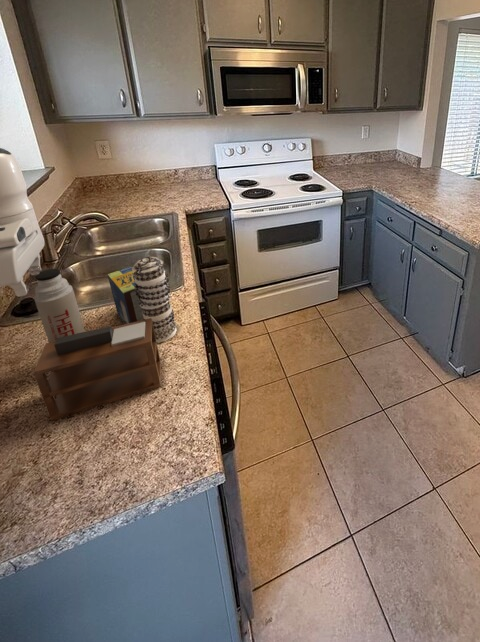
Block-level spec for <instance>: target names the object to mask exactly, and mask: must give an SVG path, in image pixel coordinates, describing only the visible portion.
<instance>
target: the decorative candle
mask: <svg viewBox="0 0 480 642" xmlns="http://www.w3.org/2000/svg"><path fill="white" fill-rule="evenodd" d="M132 266H133V267H132V270H133V271H134V274H135V282H136V284H135V286H134V287H135V291H136V295H138V296H137V297H138V301H139V302H140V303H139V305H140V307H141V308H142V310H143V320H145V319H149V318H152V322H153V327H154V332H155V336H156V341H157V344H159V343H163V342H166V341H168V340H170V339H172V338H173V337H174V336H175V335H176V333H177V323H176V319H175V313H174V309H172V303H171V302H170V300H171V289H170V284H169V282H170V280H169V274H168V273H167V272H166V271H165V269H164V260H162V259H159V258H158V257H156V256H146V257H142V258H140V259H138V260H137V261H136V262H135V264H134V265H132ZM137 287H138V289H137Z"/></svg>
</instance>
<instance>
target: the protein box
mask: <svg viewBox="0 0 480 642" xmlns="http://www.w3.org/2000/svg"><path fill="white" fill-rule="evenodd" d="M133 266H134V265H131V266H128V267H125V268H122V269H120V270H116V271H114V272H110V273H107V279H108V283H109V286H110V290H111V295H112V299H113V302H114V307H115V310H116V313H117V316H118V318H120V321H121V322H122V323H123V325H124V324H128V323H133V322H137V321H141V320H143V310H142V308H141V307H140V305H139V303H140V302H139V301H138V297H137V296H138V295H136V291H135V287H134V286H135V284H136V282H135V274H134V271H133V270H132V267H133ZM137 289H138V287H137Z"/></svg>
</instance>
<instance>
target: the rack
mask: <svg viewBox="0 0 480 642" xmlns="http://www.w3.org/2000/svg"><path fill="white" fill-rule="evenodd" d="M142 322H145V338H142V339H138V340H135V341H131V342H127V343H123V344H119V345H115V346H112V345H111V343H112V342H109V343H105V344H101V345H97V346H93V347H89V348H85V349H81V350H77V351H73V352H69V353H65V354H61V355H57V352H56V349H55V346H54V344H55V342H56V341H53V342H49V341H48V342H46V343H45V345H44V347H43V349H42V351H41V354H40V356H39V357H38V361H37V363H36V366H35V368H34V370H33V374H34V378H35V380H36V383H37V386H38V388H39V391H40V394H41V397H42V400H43V403H44V405H45V407H46V410H47V413H48V416H49V418H50V420H51V421H54V420H57V419H60V418H63V417H67V416H70V415H73V414H77V413H79V412H82V411H87V410H89V409H92V408H96V407H100V406H102V405H105V404H109V403H112V402H115V401H119V400H122V399H124V398H128V397H131V396H135V395H138V394H141V393H144V392H148V391H152V390H154V389H157V388H161V387H162V377H161V376H162V373H161V370H162V367H161V363H162V360H161V355H160V351H159V346H158V343H157V341H156V336H155V332H154V327H153V322H152V318H149V319H145V320H141V321H137V322H133V323H128V324H124V323H123V324H121V325H120V324H119V325H117V326H111V327H112V331H113V332H114V329H117V328H121V327H125V326H130V325H134V324H138V323H142ZM47 373H49V375H48V377H47ZM55 396H56V397H55Z"/></svg>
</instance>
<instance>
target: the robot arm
mask: <svg viewBox="0 0 480 642" xmlns="http://www.w3.org/2000/svg"><path fill="white" fill-rule="evenodd" d="M27 191H28V186H27V183H26V179H25V177H24V174H23V172H22V169H21V167H20V164H19V162H18V161H17V158H16V157H15V156H14V154H13V153H11V151H9V150H7V149H5V148H3V147H2V148H1V147H0V288H3V287H10V288H11V289H12V290H13V291H14V294H15V296H16V297H24V296H25V297H26V295H27V294H28V293H29V286H28V284H25V282H24V276H25V274H26V273H27V271H29V275H31V276H36V275H38V274H39V273H40V272H42V267H41V255H40V253H41V252H42V250H43V249H44V247H45V245H46V244H45V238H44V235H43V231H42V230H41V228H40V224H39V222H38V218H37V215H36V212H35V208H34V206H33V203H32V202H31V201H30V200H29V197H28V193H27Z"/></svg>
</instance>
